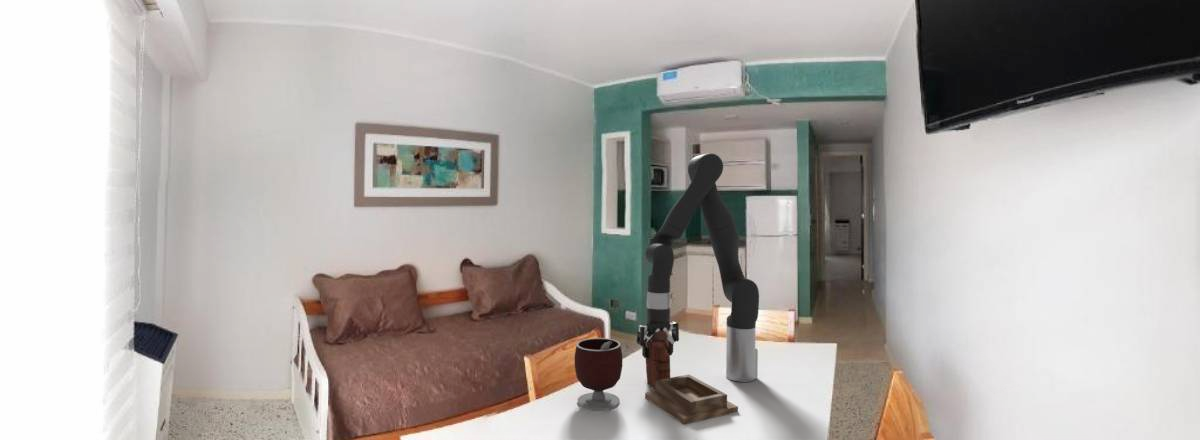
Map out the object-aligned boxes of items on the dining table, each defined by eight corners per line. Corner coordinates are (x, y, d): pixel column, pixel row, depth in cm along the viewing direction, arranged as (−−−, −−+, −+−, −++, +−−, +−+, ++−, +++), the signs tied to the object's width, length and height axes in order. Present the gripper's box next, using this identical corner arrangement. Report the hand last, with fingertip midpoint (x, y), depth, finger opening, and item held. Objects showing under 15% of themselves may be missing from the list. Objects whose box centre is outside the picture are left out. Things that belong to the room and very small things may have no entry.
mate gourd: (568, 397, 150) (567, 330, 149) (610, 390, 155) (610, 326, 154) (587, 417, 135) (587, 344, 135) (633, 409, 141) (633, 338, 140)
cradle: (694, 387, 157) (695, 371, 157) (738, 411, 139) (738, 394, 139) (645, 397, 149) (645, 380, 149) (683, 424, 131) (683, 405, 131)
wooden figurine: (675, 390, 155) (675, 332, 154) (656, 392, 153) (656, 334, 152) (660, 377, 166) (660, 323, 165) (642, 379, 164) (642, 325, 164)
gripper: (671, 301, 165) (670, 350, 166) (633, 305, 159) (632, 355, 160) (684, 306, 158) (683, 357, 159) (645, 309, 152) (644, 362, 153)
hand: (657, 356), depth 159 cm, fingers open, 8 cm apart
